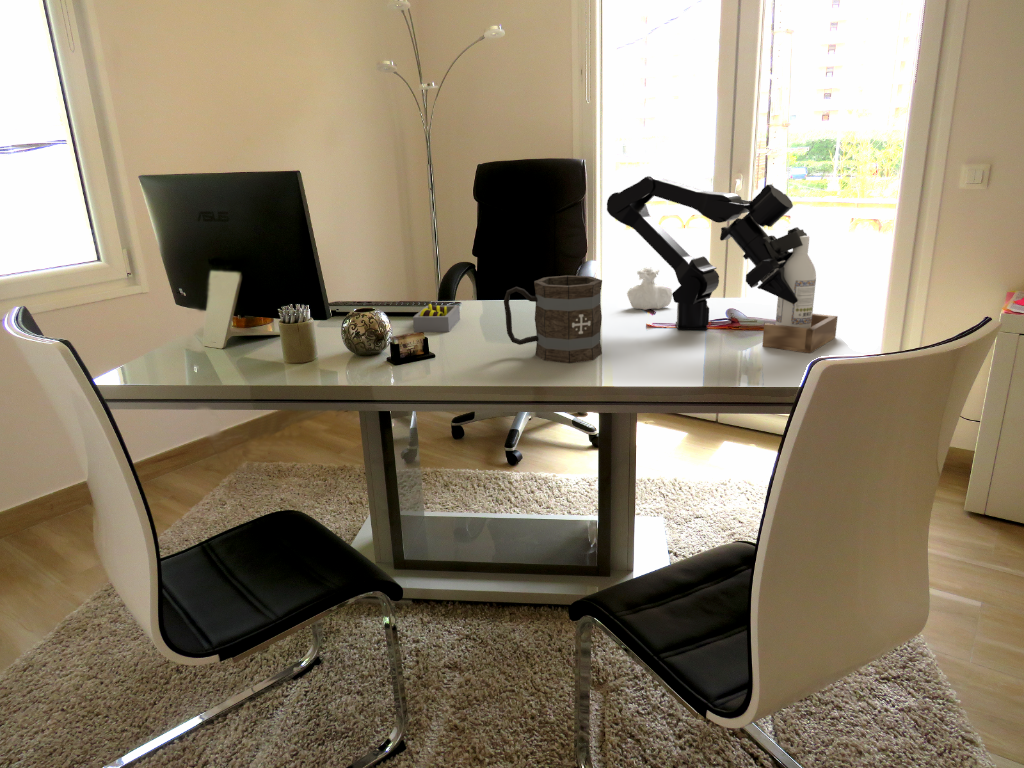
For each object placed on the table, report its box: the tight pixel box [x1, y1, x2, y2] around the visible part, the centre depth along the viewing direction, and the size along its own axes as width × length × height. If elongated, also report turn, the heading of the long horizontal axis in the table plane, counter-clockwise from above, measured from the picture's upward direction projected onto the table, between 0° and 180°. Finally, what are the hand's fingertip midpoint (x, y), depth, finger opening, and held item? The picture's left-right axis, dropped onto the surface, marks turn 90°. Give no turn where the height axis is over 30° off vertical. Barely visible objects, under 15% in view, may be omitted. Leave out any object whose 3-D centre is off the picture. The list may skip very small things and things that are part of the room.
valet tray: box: [412, 305, 461, 333], centre depth 176 cm, size 8×13×4 cm, turn 173°
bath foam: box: [775, 235, 817, 328], centre depth 149 cm, size 7×7×20 cm
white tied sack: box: [626, 267, 673, 310], centre depth 189 cm, size 12×8×11 cm
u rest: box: [761, 313, 838, 354], centre depth 151 cm, size 10×15×5 cm, turn 140°
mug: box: [503, 274, 603, 364], centre depth 146 cm, size 20×14×15 cm
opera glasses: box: [420, 303, 447, 316], centre depth 176 cm, size 10×5×5 cm, turn 173°
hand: (802, 299), depth 149 cm, fingers closed on bath foam, 7 cm apart
